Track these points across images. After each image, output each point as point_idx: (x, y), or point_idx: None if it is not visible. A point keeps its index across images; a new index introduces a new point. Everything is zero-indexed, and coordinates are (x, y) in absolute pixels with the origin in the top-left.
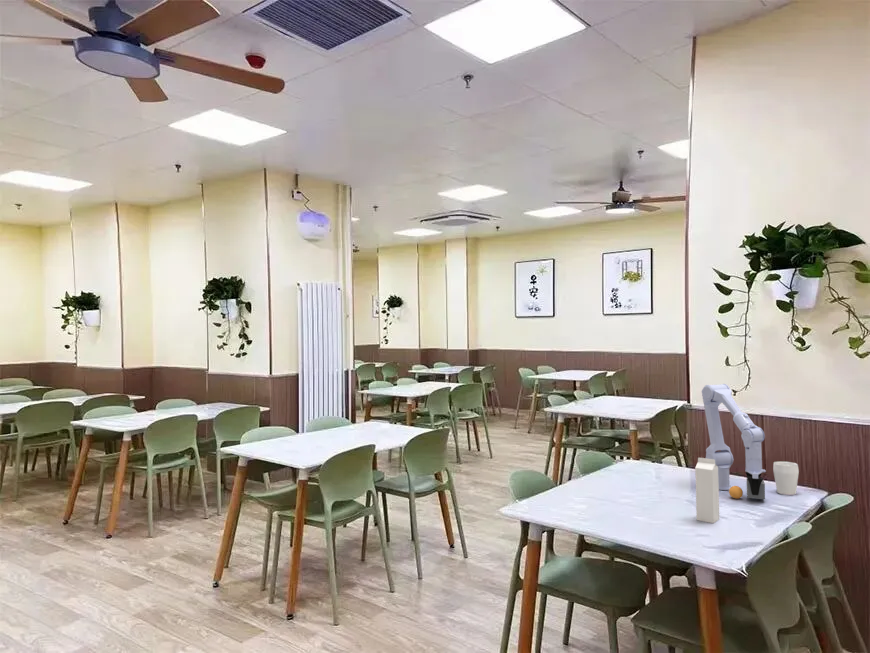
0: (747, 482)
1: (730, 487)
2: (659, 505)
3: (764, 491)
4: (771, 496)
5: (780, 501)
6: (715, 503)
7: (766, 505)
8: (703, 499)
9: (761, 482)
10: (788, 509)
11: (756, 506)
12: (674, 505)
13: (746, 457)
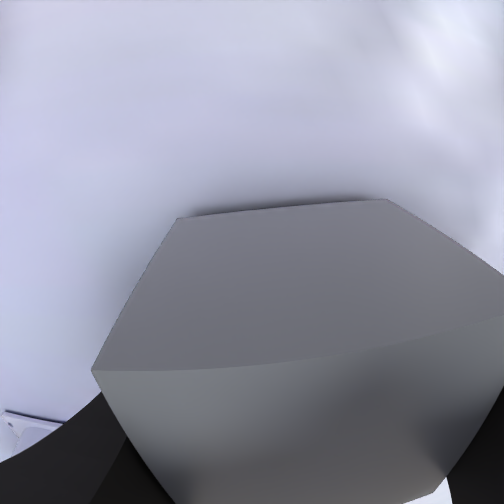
0: (431, 491)
1: (43, 425)
2: (443, 498)
3: (441, 238)
4: (47, 139)
5: (227, 24)
6: None
7: (449, 179)
8: None
9: (430, 388)
10: (489, 18)
11: (484, 260)
12: (446, 486)
13: None
